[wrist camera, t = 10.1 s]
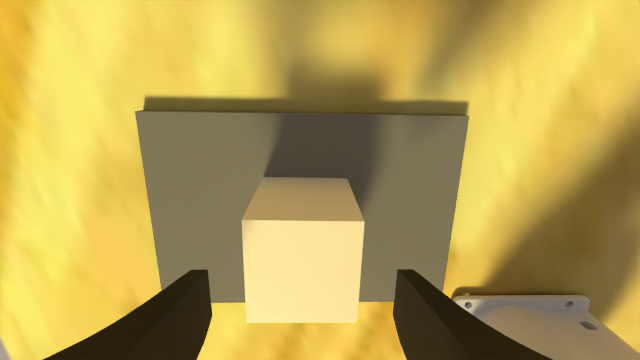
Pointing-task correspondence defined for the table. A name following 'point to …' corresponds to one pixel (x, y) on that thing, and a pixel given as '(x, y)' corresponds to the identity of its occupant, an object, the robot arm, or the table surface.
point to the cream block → (302, 251)
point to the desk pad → (304, 162)
